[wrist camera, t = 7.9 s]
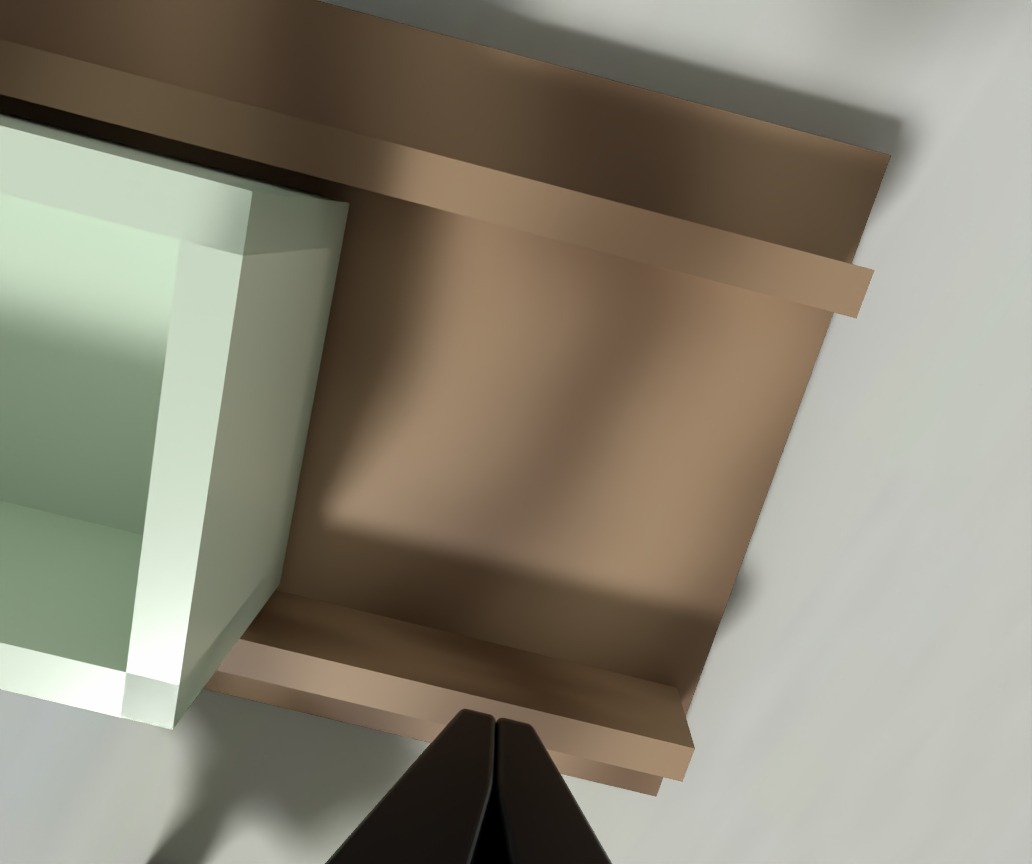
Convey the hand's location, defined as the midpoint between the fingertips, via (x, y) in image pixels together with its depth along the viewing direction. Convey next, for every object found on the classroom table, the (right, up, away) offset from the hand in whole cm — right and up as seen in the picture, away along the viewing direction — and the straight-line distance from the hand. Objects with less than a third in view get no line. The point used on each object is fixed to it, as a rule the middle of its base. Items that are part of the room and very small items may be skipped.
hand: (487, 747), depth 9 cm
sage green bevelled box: (-11, +6, +10) cm, 15 cm away
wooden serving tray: (-6, +5, +11) cm, 14 cm away
